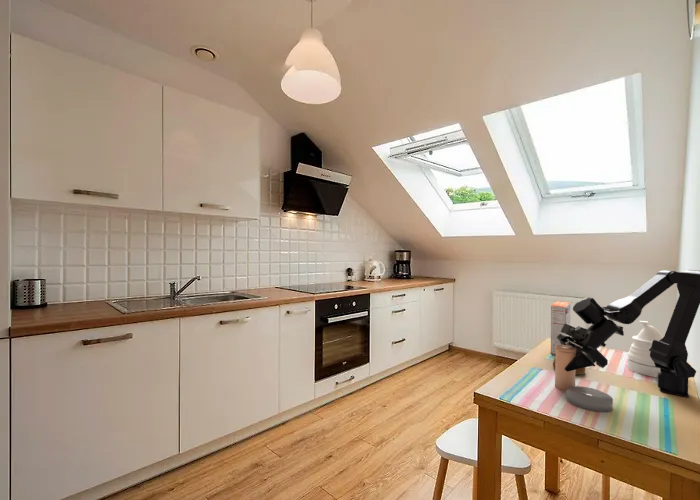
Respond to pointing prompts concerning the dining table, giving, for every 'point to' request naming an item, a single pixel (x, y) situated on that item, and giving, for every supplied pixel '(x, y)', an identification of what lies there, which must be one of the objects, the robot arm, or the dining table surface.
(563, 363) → the tan cylindrical canister
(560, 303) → the cracker box
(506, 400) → the dining table surface
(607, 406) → the round gray base plate
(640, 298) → the robot arm
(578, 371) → the bread roll
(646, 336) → the honey pot
